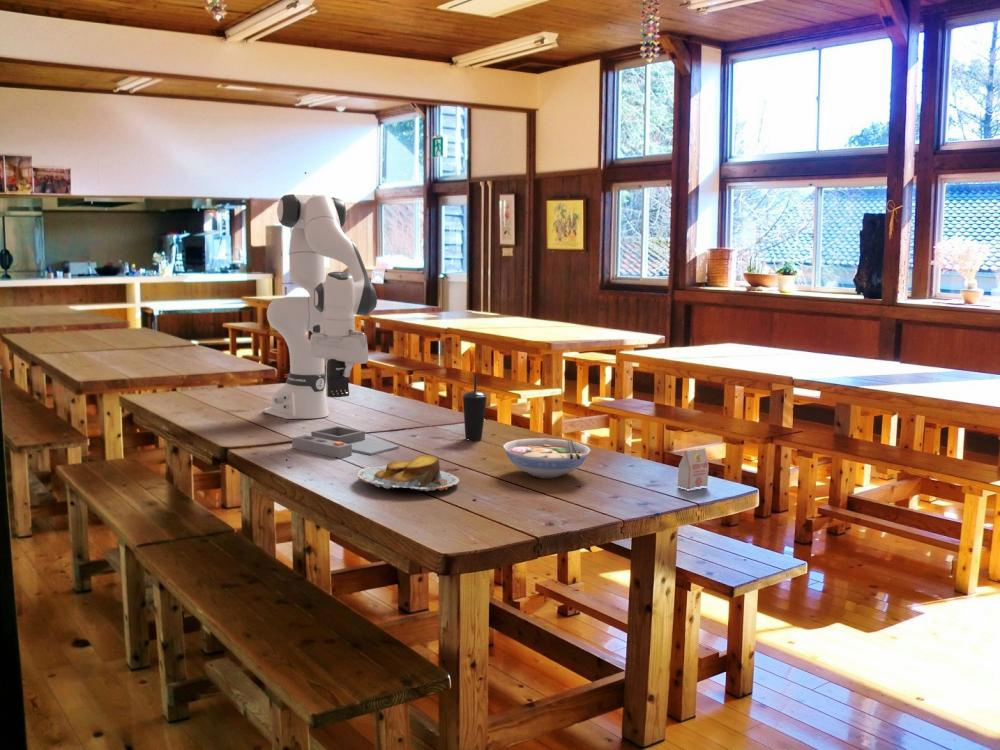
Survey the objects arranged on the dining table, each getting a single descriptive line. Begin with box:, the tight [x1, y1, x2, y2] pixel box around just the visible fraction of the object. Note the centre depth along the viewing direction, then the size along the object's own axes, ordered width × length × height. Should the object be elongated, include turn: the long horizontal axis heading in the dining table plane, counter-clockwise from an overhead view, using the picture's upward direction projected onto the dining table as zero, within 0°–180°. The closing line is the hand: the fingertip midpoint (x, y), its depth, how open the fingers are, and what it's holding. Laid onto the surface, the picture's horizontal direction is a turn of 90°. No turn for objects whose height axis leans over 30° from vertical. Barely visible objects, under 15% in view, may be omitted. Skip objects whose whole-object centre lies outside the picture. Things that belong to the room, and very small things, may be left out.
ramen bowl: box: [502, 437, 591, 479], centre depth 252 cm, size 25×23×8 cm
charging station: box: [291, 425, 366, 459], centre depth 277 cm, size 22×22×4 cm
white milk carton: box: [677, 448, 710, 489], centre depth 244 cm, size 4×7×10 cm, turn 123°
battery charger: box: [325, 359, 352, 398], centre depth 282 cm, size 7×4×11 cm, turn 126°
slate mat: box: [351, 439, 400, 456], centre depth 276 cm, size 12×12×1 cm
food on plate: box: [356, 454, 460, 492], centre depth 238 cm, size 25×25×7 cm
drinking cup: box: [461, 373, 488, 441], centre depth 291 cm, size 8×8×20 cm
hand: (338, 375), depth 282 cm, fingers closed on battery charger, 5 cm apart
